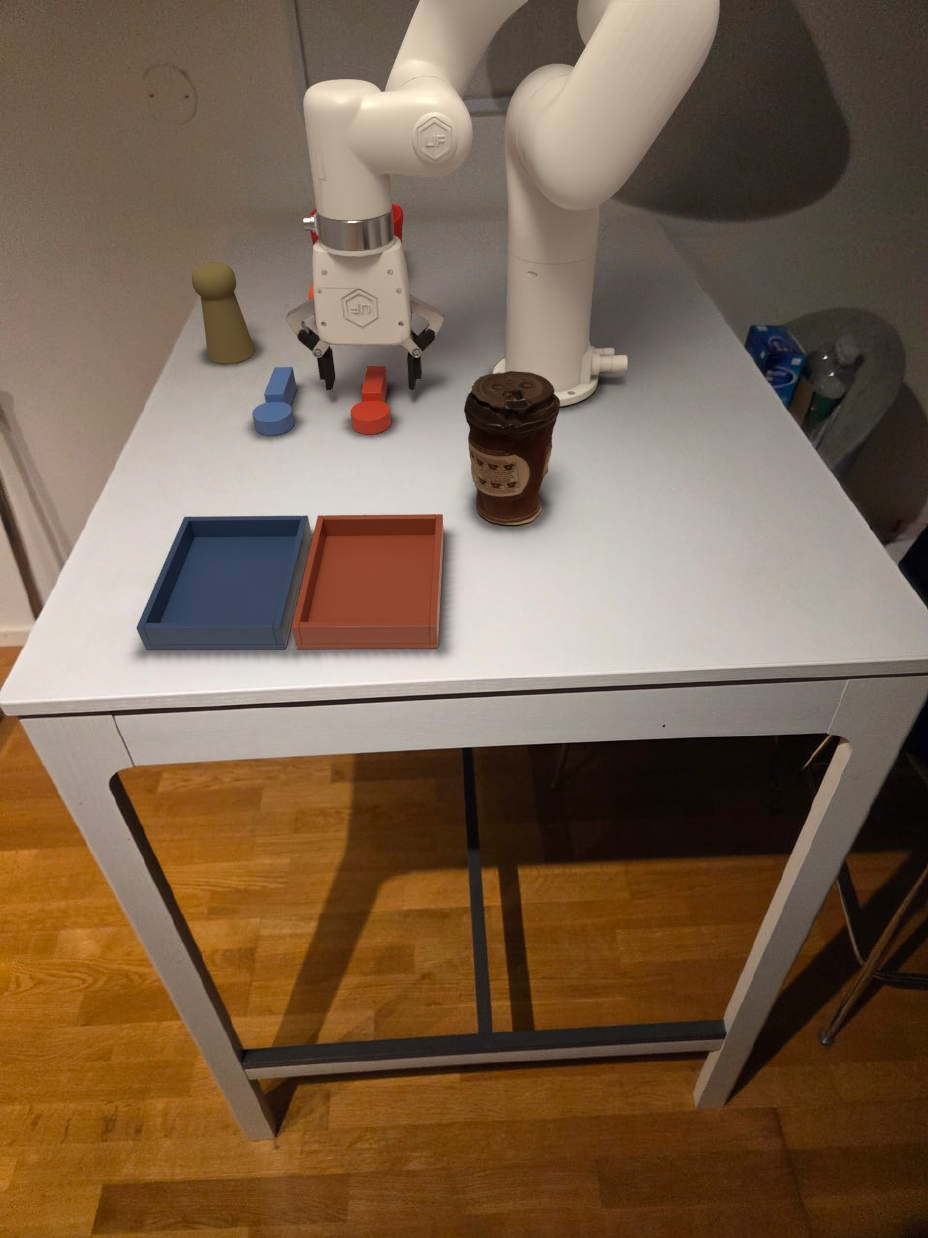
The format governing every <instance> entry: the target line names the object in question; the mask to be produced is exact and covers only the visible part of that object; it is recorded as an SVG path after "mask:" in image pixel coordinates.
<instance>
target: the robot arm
mask: <svg viewBox="0 0 928 1238" xmlns="http://www.w3.org/2000/svg"><path fill="white" fill-rule="evenodd" d="M528 1H529V0H419V2H418V4H417V6H416V9H414V10H415V11H414V12H413V15H412V18H411V19H410V23H409V25H408V28H407V29H406V32H405V35H404V38H403V40H402V43H401V45H400V48H399V50H398V53H397V56H396V58H395V61H394V63H393V66H392V68H391V70H390V74H389V75H388V80H387V82H386V85H385V89H384V91H382V90H381V89H380V87H378V86H377V85H375V83H372V82H369V81H367V80H363V79H352V78H351V79H350V78H345V79H344V78H343V79H330V80H325V81H320V82H317V83H315V84H313V85H311V86H310V87H309V88H308V89H307V90H306V91H305V93H304V95H303V101H302V103H303V104H302V107H303V108H302V109H303V118H304V127H305V133H306V141H307V149H308V157H309V165H310V171H311V179H312V187H313V195H314V202H315V209H316V210H317V211H315V214H314V215H311V216H309V215H308V216H307V215H306V216H305V215H304V216H303V230H304V231H305V232H310V231H312V232H316V235H318V238H319V239H318V240H317V241H316V243H315V244H314V246H313V245H312V257H311V258H312V259H311V260H312V264H311V265H312V267H311V268H312V269H311V270H312V271H311V272H312V284H313V293H314V297H313V298H311V299H310V300H309V299H308V300H306V301H305V302H302V303H301V304H299V305H298V306H296V307H294V308H293V309H291V310H289V311H288V312H287V315H286V316H285V322H286V324H287V326H289V328H290V329H291V331H292V332H293V333H294V334H295V335H296V337H297V340H298V341H299V342H300V343H301V344H302V345H304V347H306V348H307V349H308V350H310V352H311V353H312V355H313V357H315V358H316V361H317V368H318V376H319V380H320V381H324V384H325V385H324V386H325V390H326V391H332V390H334V386H335V382H336V377H337V376H336V369H335V360H334V354H333V353H334V352H333V348H332V347H331V346H397V345H401V346H403V347H404V349H406V351H407V354H406V368H407V383H408V384H407V385H408V390H410V391H416V387H417V381H422V376H423V375H422V373H423V371H422V354H423V352H424V351H425V350H426V349H427V348H428V347H430V346H431V344H432V343H434V341H435V339H436V336H437V335H438V333H439V331H440V329H441V327H442V326H443V324H444V322H445V312H444V311H443V310H441V309H439V308H437V307H436V306H433V305H431V304H430V303H427V302H426V301H423V300H422V299H420V298H418V297H416V296H414V295H412V294H411V288H410V287H411V285H410V280H409V273H408V267H407V266H408V265H407V260H406V257H405V253H404V248H403V243H402V244H401V241H400V239H399V238H398V237H397V236H394V225H393V210H392V204H393V201H392V200H393V198H392V186H391V185H392V184H391V175H395V176H396V175H397V176H405V177H412V178H420V179H421V178H422V179H435V178H436V179H437V178H443V177H445V176H448V175H450V174H452V173H453V172H455V171H457V170H458V169H459V168H460V167H461V166H462V165H463V164H464V162H465V161H466V160H467V158H468V156H469V154H470V153H471V149H472V146H473V140H474V137H473V136H474V129H473V122H472V118H471V115H470V112H469V109H468V107H467V106H466V104H465V102H464V101H463V99H464V97H465V95H466V92H467V91H468V88H469V85H470V84H471V81H472V79H473V77H474V74H475V73H476V70H477V68H478V66H479V64H480V62H481V60H482V58H483V56H484V54H485V52H486V50H487V49H488V47H489V46H490V43H491V42H492V40H493V38H494V37H495V35H497V32H498V31H499V29H501V27H502V25H504V23H505V22H506V21H507V20H508V18H510V17H511V16H512V15H513V14H515V12H516V11H518V9H520V8H522V6H524V5H525V4H527V3H528ZM720 2H721V1H720V0H578V3H577V9H576V20H577V28H578V32H579V35H580V38H581V40H582V42H583V44H584V45H585V47H584V49H583V51H582V52H581V54H580V56H579V58H578V60H577V62H576V63H575V65H571V64H567V63H550V64H546V65H542V66H540V67H538V68H536V69H534V70H533V71H532V72H530V73H528V74H527V76H526V77H524V78H523V80H521V82H520V83H519V84H518V86H517V87H516V88H515V91H514V92H513V94H512V96H511V99H510V101H509V104H508V106H507V111H506V116H505V121H504V131H503V132H504V133H503V134H504V137H503V138H504V139H503V141H504V161H505V177H506V192H507V194H506V195H507V247H506V297H505V298H506V301H505V302H506V306H505V311H506V312H505V357H504V358H502V359H501V360H500V361H499V362H498V363H496V365H495V366H494V368H493V369H492V373H491V374H495V373H505V372H509V371H516V372H530V373H534V374H537V375H540V376H542V377H544V378H546V379H547V380H548V381H549V382H550V383H551V384H552V385H553V387H554V389H555V392H554V394H555V395H556V396H557V397H558V398H559V400H560V407H565V406H570V405H573V404H574V405H575V404H577V403H579V402H582V401H583V400H585V399H587V398H589V397H590V396H592V394H593V393H595V391H596V389H597V388H598V382H599V375H600V373H606V372H607V373H627V370H628V362H629V361H628V355H627V354H615V348H614V347H603V348H595V346H594V345H591V342H590V337H589V336H590V327H591V317H592V316H591V315H592V305H593V294H594V283H595V271H596V262H597V250H598V246H599V245H598V244H599V231H600V215H601V214H600V212H601V205H602V204H604V203H606V201H608V200H609V199H611V198H612V197H613V196H614V195H615V194H616V193H617V192H619V190H620V189H621V188H622V187H623V186H624V185H625V183H626V182H627V181H628V180H629V179H630V177H631V176H632V175H633V174H634V172H635V170H636V169H637V168H638V166H639V164H641V161H642V160H643V159H644V157H645V156H646V154H647V152H648V151H649V149H650V148H651V146H652V145H653V144H654V142H655V141H656V139H657V138H658V136H659V135H660V133H661V132H662V130H663V129H664V127H665V126H666V124H667V122H668V121H669V119H670V118H671V116H672V115H673V114H674V112H675V110H676V109H677V108H678V106H679V105H680V104H681V102H682V100H683V98H684V97H685V95H686V94H687V92H688V91H689V89H690V87H691V86H692V85H693V83H694V81H695V80H696V78H697V76H698V75H699V73H700V71H701V69H702V68H703V66H704V64H705V62H706V60H707V58H708V56H709V54H710V51H711V48H712V47H713V43H714V40H715V37H716V34H717V30H718V25H719V20H720V19H719V18H720V7H721V3H720ZM314 314H315V316H314ZM413 314H414V315H416V316H418V317H420V318H422V319H424V320H426V321H427V322H428V323H427V326H426V327H424V329H423V330H422V331H420V333H418V332H417V331H416V330H415V329H414V328H413V327H412V322H413ZM311 316H314V318H315V317H316V318H315V323H316V324H315V325H316V332H317V333H316V332H315V331H313V330H312V329H311V328H310V327H309V326H307V325H306V322H305V321H304V320H307V319H308V318H310V317H311ZM324 324H325V325H324Z"/></svg>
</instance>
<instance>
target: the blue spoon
mask: <svg viewBox="0 0 928 1238" xmlns="http://www.w3.org/2000/svg"><path fill="white" fill-rule="evenodd" d="M297 388H298V387H297V383H296V377H295V372H294V367H293V366H275V367H274V368H273V370H272V373H271V375H270V378H269V380H268V383H267V386H266V389H265V390H264V393H263V396H264V400H265V402H264V403H261V404H259V405H257V406H256V407H254V408H253V410H252V412H251V415H252V419H253V424H254V428H255V430H256V431H257V433H258V434H261V435H263V436H270V437H271V436H279V435H283V434H285V433H288V432H289V431H291V430H292V429H293V428H294V426H295V418H294V412H293V408H292V403H293V401H294V397H295V395H296V392H297Z"/></svg>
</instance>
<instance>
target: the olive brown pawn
mask: <svg viewBox="0 0 928 1238" xmlns="http://www.w3.org/2000/svg"><path fill="white" fill-rule="evenodd" d="M191 284H192V287H193V289H194V291H195V293H196V294H197V295H199V297H200V302H201V303H200V304H201V311H202V319H203V327H204V335H205V342H206V350H207V358H208V359H209V360H210V361H211V362H213V363H216V364H235V363H240V362H243V361H245V360H248V359H249V358H251V357H252V356H253V355H254V354H255V352H256V348H255V346H254V342H253V340H252V337H251V333H250V331H249V329H248V326H247V323H246V320H245V317H244V315H243V312H242V309H241V307H240V304H239V301H238V299H237V296H236V292H235V290H236V288H237V279H236V274H235V271H234V270H233V268H232V267H231V266H230V265H228V264H227V263H224V262H220V261H209V262H205V263H202V264H199V265H197V266H196V267H195V268H193V270H192V273H191Z"/></svg>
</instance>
